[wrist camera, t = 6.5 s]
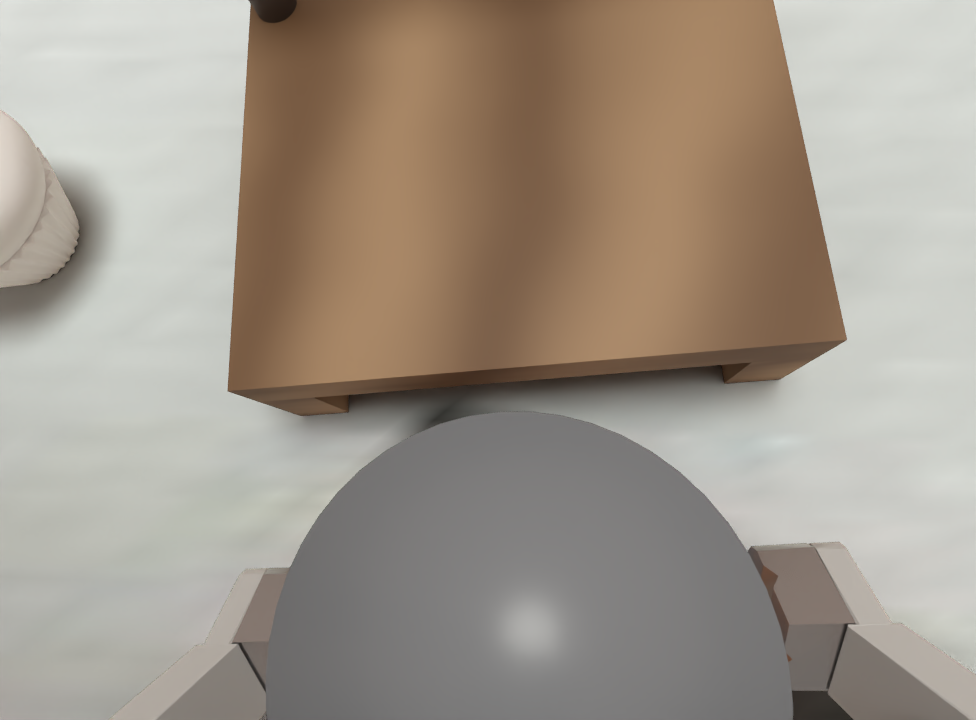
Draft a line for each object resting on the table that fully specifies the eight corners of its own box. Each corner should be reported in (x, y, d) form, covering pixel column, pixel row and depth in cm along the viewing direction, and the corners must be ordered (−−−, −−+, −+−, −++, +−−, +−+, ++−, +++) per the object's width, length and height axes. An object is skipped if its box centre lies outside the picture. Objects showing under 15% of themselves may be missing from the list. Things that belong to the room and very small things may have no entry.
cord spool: (430, 713, 15) (253, 985, 7) (424, 467, 17) (275, 428, 8) (679, 709, 15) (846, 1008, 6) (648, 453, 16) (743, 393, 8)
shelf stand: (301, 415, 18) (12, 318, 8) (310, 83, 21) (104, -256, 11) (779, 379, 16) (1066, 210, 7) (714, 25, 19) (853, -423, 10)
